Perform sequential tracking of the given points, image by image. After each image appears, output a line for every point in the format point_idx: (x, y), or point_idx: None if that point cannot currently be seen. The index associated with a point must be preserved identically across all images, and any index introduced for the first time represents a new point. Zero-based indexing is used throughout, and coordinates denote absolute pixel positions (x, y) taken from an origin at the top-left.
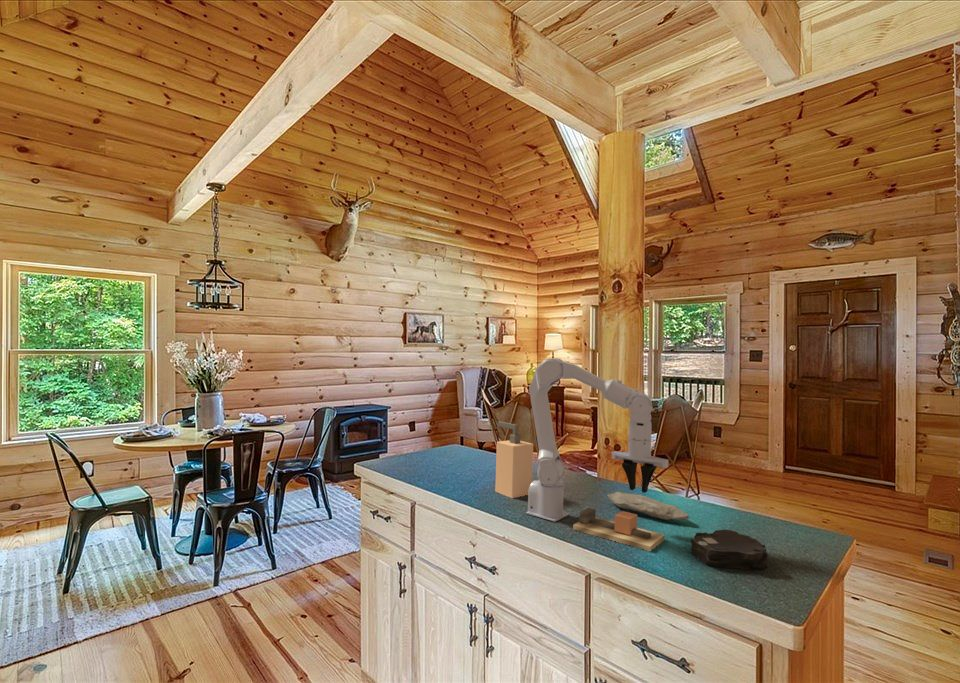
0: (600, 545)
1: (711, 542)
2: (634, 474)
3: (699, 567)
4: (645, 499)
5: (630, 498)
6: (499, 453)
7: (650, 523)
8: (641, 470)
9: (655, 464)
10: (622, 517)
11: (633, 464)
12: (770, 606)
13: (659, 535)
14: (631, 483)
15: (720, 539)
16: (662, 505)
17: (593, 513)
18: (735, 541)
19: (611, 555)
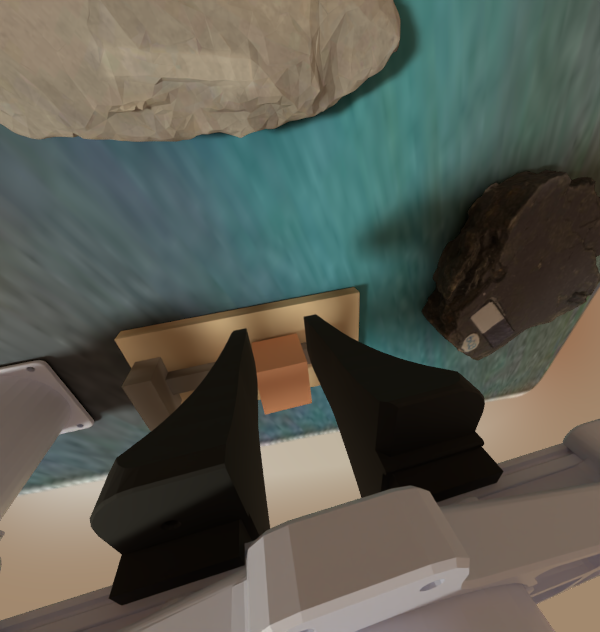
0: (269, 417)
1: (488, 325)
2: (245, 398)
3: (439, 351)
4: (144, 11)
5: (47, 49)
6: None
7: (261, 181)
8: (362, 494)
9: (505, 493)
10: (288, 407)
11: (256, 511)
12: (518, 375)
13: (350, 307)
14: (257, 397)
15: (510, 287)
16: (272, 31)
17: (160, 384)
18: (543, 271)
19: (308, 427)
